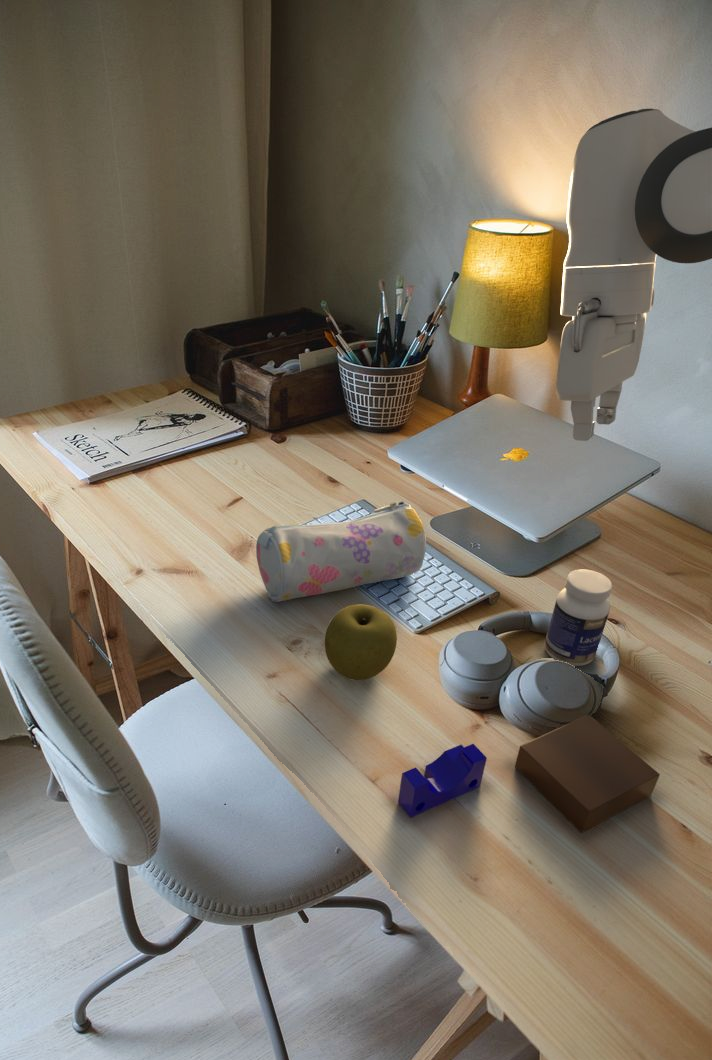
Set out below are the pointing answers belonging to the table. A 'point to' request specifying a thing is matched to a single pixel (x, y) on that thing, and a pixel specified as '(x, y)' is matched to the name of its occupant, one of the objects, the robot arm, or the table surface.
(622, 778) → the block
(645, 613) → the table surface
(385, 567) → the pencil case
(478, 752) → the cable holder
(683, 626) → the table surface
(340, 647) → the apple
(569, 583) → the pill bottle
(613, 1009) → the table surface
